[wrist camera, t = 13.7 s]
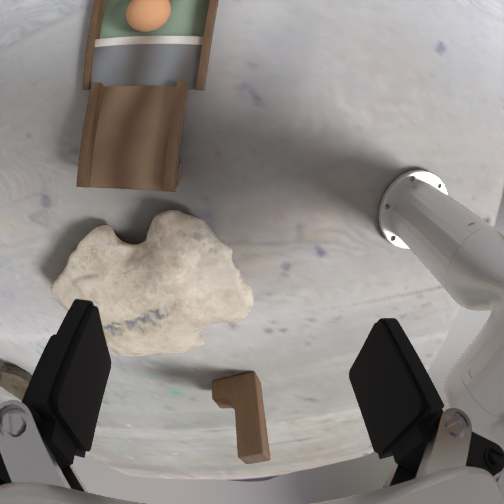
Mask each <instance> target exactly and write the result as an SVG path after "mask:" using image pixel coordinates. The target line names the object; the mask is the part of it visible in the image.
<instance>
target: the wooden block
mask: <svg viewBox="0 0 504 504" xmlns="http://www.w3.org/2000/svg"><path fill="white" fill-rule="evenodd" d="M212 398H213V400H214V401H215V402H216V403H217V405H218V406H219V407H220V408H234V409H235V417H236V433H237V449H238V457H239V458H240V459H241V460H242V461H243V462H245V463H246V464H252V463H258V462H263V461H268V460H270V451H269V444H268V436H267V428H266V420H265V413H264V405H263V397H262V389H261V382H260V381H259V379H258V377H257V375H256V373H255V372H249V373H245V374H241V375H237V376H233V377H228V378H224V379H219V380H215V381H213V382H212Z"/></svg>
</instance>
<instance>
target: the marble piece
mask: <svg viewBox="0 0 504 504" xmlns="http://www.w3.org/2000/svg"><path fill="white" fill-rule="evenodd" d="M31 378H32V376H31V375H30V374H29V373H27V372H25V371H23V370H22V369H20V368H18V367H16V366H11V365H9V364H7V363H5V364H4V366H3V369H2V371H1V374H0V386H1V387H3V388H4V389H5V390H7V391H8V392H10V393H12V394H13V395H14V396H16V397H17V398H19V399H20V400H21V401H22V400H23V397H24V395H25V392H26V390H27V387H28V385H29V382H30V380H31Z"/></svg>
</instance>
